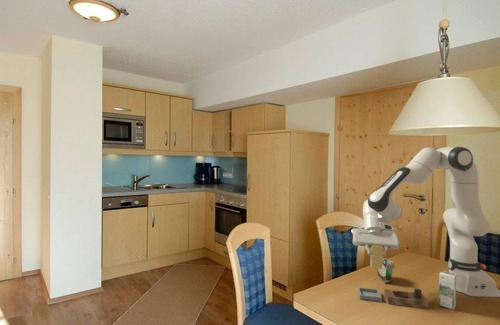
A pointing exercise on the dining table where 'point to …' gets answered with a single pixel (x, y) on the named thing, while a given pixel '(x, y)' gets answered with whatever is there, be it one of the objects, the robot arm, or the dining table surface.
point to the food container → (386, 271)
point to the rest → (369, 294)
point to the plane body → (406, 298)
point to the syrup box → (447, 289)
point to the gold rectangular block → (376, 256)
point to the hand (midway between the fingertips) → (376, 255)
